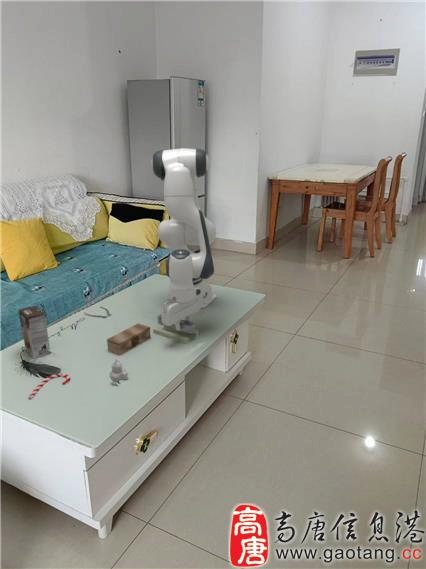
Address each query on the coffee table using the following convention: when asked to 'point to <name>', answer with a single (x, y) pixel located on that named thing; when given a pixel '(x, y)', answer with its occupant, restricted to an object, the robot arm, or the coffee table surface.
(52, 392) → the coffee table surface
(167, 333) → the cradle
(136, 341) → the beam
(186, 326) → the shaft
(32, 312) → the coffee box
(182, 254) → the robot arm
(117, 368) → the grey lumpy blob
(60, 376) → the candy cane
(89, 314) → the pliers
